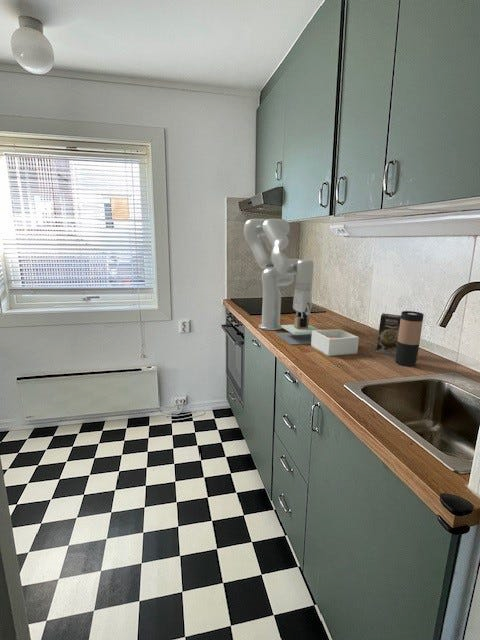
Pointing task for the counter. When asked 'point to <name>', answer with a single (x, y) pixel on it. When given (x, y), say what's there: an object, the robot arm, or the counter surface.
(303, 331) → the lid
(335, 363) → the counter surface
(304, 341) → the mat
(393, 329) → the coffee box
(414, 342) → the travel mug
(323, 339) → the storage box
